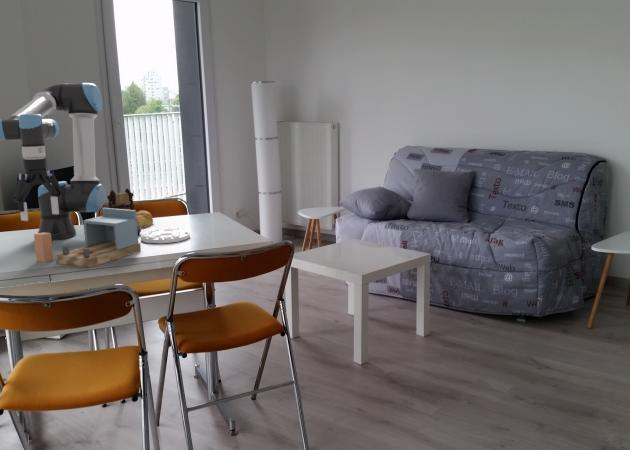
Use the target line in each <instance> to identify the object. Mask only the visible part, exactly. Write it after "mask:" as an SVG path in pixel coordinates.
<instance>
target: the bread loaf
mask: <svg viewBox="0 0 630 450" xmlns="http://www.w3.org/2000/svg"><path fill="white" fill-rule="evenodd" d="M136 217H137V226H138V227H140V228H141V229H143V228H147V227H150V226H152V225H153V224H154V219H153V215H152V214H151V212H149V211H147V210H145V209H143V210H139V211H136Z"/></svg>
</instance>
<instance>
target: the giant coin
mask: <svg viewBox="0 0 630 450" xmlns="http://www.w3.org/2000/svg"><path fill="white" fill-rule="evenodd" d="M189 238H190V231H188V230H185V229H179V227H172V228H171V227H164V228H163V229H160V228H155V229H149V230H147V231H143V232H142V233H140V241H142V242H145V243H146V244H169V243H177V242H183V241H185V240H187V239H189Z"/></svg>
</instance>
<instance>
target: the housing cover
mask: <svg viewBox="0 0 630 450" xmlns="http://www.w3.org/2000/svg"><path fill="white" fill-rule="evenodd" d="M101 211H102V215H101V216H97V217H92V218H88V219H87V218H86V219H85V220H83V221H82V223H83V233H84V242H85V244H84V245H85V246H90V245H93V244H97V243H100V242H104V241H115V244H116V249H117V250H118V249H122V248H125V247H128V246H131V245H134V244H138V243H139V236H138V231H137V217H136V212H137V210H136V209H133V210H131V209H127V208H125V209H113V208H108V207H102V208H101Z"/></svg>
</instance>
